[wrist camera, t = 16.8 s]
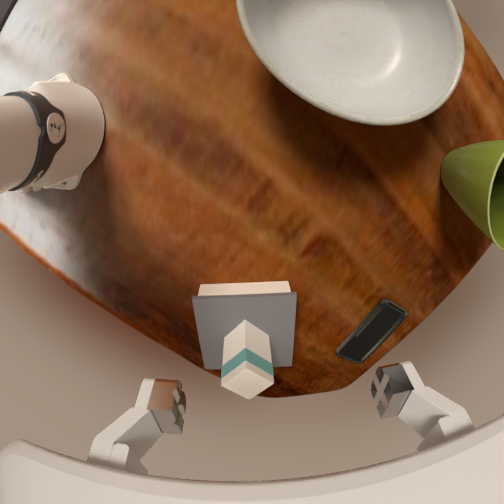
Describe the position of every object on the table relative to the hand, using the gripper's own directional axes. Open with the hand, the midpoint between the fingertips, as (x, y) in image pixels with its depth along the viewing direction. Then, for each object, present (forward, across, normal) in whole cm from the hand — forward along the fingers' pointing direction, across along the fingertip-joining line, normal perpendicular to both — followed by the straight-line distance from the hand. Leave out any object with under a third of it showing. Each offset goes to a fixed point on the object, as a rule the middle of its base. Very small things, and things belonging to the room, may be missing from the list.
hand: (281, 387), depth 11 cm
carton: (+28, +2, +22) cm, 36 cm away
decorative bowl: (+33, -12, -23) cm, 42 cm away
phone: (+34, -22, +28) cm, 49 cm away
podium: (+33, +2, +22) cm, 40 cm away
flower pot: (+33, -34, -4) cm, 48 cm away
